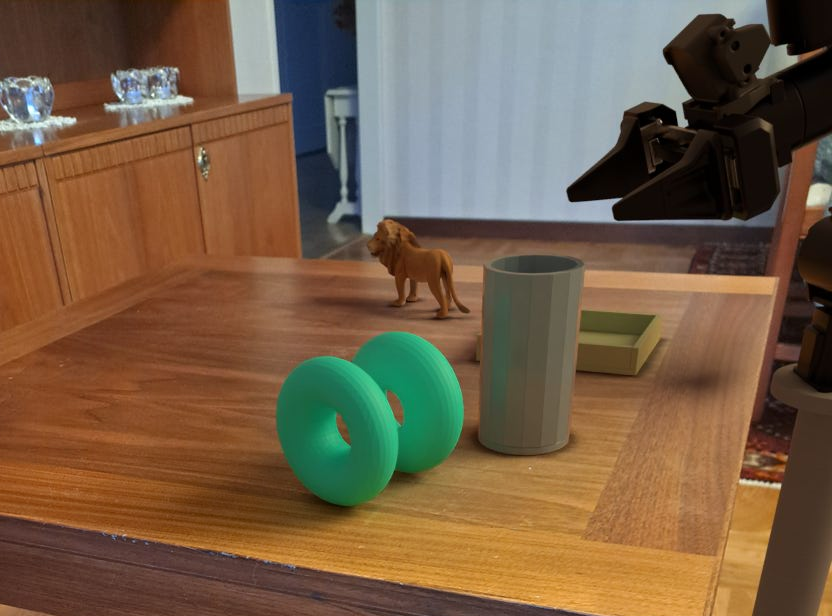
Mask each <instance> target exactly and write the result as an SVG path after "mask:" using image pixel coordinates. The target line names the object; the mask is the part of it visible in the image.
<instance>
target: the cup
mask: <svg viewBox="0 0 832 616" xmlns="http://www.w3.org/2000/svg"><path fill="white" fill-rule="evenodd" d="M482 266H483V268H482V270H483V271H482V294H481V295H482V296H481V297H482V299H481V323H480V324H481V326H480V327H481V328H480V329H481V330H480V332H481V353H480V361H479V382H478V383H479V386H478V387H479V388H478V412H477V415H478V416H477V431H478V435H477V438H478V441H479V443H480V444H481V445H482V446H483V447H485V448H487V449H489V450H491V451H494V452H497V453H502V454H507V455H513V456H515V455H516V456H537V455H543V454H548V453H552V452H553V453H554V452H556V451H559V450H560V449H562V448H564V447H566V445H567V444H568V443H569V441H570V434H571V430H572V429H571V427H572V418H573V408H574V407H573V406H574V397H575V386H576V385H575V382H576V372H577V370H576V363H577V352H578V341H579V330H580V318H581V309H582V308H583V307H582V305H583V296H584V295H583V294H584V283H585V272H586V262H584V261H583V260H582V259H580V258H577V257H574V256H570V255H563V254H556V253H555V254H554V253H516V254H508V255H501V256H498V257H493V258H491V259H488V260H487V261H485V262H484V263H483V265H482Z"/></svg>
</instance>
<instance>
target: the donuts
mask: <svg viewBox="0 0 832 616" xmlns="http://www.w3.org/2000/svg"><path fill="white" fill-rule="evenodd" d="M442 353H443V352H441V351H440V350H439V349H438V348H437V347H436V346H435V345H434V344H432V343H431V342H429V341H428V340H426V339H425V338H423V337H421V336H419V335H416V334H414V333H411V332H407V331H399V330H398V331H397V330H395V331H394V330H393V331H385V332H383V333H380V334H377V335H374V336H373V337H372V338H370V339H369V340H368V341H366V342H365V343H364V344H362V345H361V346H360V348H359V349H358V350H357V352H356V353H355V354H354V356H353V357H352V359H351V361H349V360H346V359H344V358H340V357H336V356H333V355H331V356H330V355H324V356H323V355H322V356H316V357H312V358H309V359H306V360H303V361H302V362H301V363H299V364H298V365H296V366H295V368H293V369H292V370H291V371H290V372H289V373H288V375H287V376H286V378H285V379H284V381H283V382H282V385H281V387H280V389H279V392H278V396H277V400H276V407H275V425H276V433H277V437H278V442H279V445H280V449H281V451H282V454H283V455H284V458H285V461H286V462H287V465H288V466H289V468H290V469H291V471H292V472H293V474H294V475H295V476H296V478H297V479H298V481H300V483H301V484H302V485H303V486H304V487H305V488H306V489H307V490H309V491H310V492H311V493H312V494H314V496H316V497H318V498H319V499H321V500H322V501H325V502H326V503H330V504H332V505H338V506H343V507H352V506H358V505H363V504H365V503H367V502H369V501H371V500H373V499H374V498H376V497H377V496H378V495H380V493H381V492H383V491H384V489H385V488H386V486H387V485H388V484H389V482H390V480H391V479H392V476H393V474H394V472H395V471H396V472H400V473H405V474H419V473H424V472H428V471H429V470H430V471H431V470H432V469H434V468H436V467H438V466H439V465H441V464H442V463H443V462H444V461H446V459H447V458H448V457H449V456H450V455H451V454H452V453H453V451H454V449H455V448H456V446H457V444H458V442H459V439H460V436H461V433H462V430H463V426H464V425H463V424H464V415H465V413H464V412H465V411H464V410H465V409H464V408H465V407H464V399H463V394H462V389H461V386H460V383H459V380H458V377H457V375H456V373H455V371H454V369H453V367H452V365H451V364H450V362H449V361H448V360H447V358H446V357H445V356H444V354H442ZM388 391H390V392H391V393H393V394H394V396H396V398H397V399H398V402H400V405H401V407H402V411H403V413H402V414H403V421H402V424H400V422H398V421H397V419H396V418H395V415H394V412H393V410H392V407H391V405H390V403H389V401H388ZM337 414H338V415H339V417H340V418H341V420H342V421H343V423H344V425H345V428H346V430H347V433H348V436H349V440H350V442H349V443H350V444H349V443H347V442H346V441H345V440H344V438H343V436H342V435H341V433H340V430H339V428H338V425H337Z"/></svg>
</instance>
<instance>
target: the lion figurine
mask: <svg viewBox="0 0 832 616" xmlns="http://www.w3.org/2000/svg"><path fill="white" fill-rule="evenodd" d="M376 228H377V230H376V231H375V232H374V233H373V236H372V237H371V239H370V240H369V241H367V242H366V243H365V246H366V248H367V250H368V251H369V252H370V257H371V258H372V259H378V262H380V264H381V265H382V266H384V267H385V268H386V269H387V273H388V274H389V275H390V276H392V277H394V283H395V288H396V291H397V295H398V298H397V299H394V300H393V301H392V304H393V306H394V307H400V306H405V304H406V301H407V302H416V301H417V300H418V297H419V296H418V295H419V283H422V284H423V283H427V285H428V288H429V290H430V292H431V294H432V295H433V297H434V298H435V299H436V301H437V303H438V305H439V307H440V310H438V311H437V312H436V318H438V319H444V318H447V317H448V316H449V315H448V314H449V310H452V308H453V303H454V304H455V306H456V307H457V309H458V310H459V312H461V313H462V314H470V313H471V309H469V308H468V307H467V306H465V305H463V304H462V303H461V301H460V300H459V298H458V297H457V293H456V289H455V283H454V279H453V273H454V265H453V264H454V263H453V259H452V257H451V255H450V254H449V253H448V252H447V250H444V249H442V248H433V249H427V248H424V247H422V246H421V245H420V243H419V241H418V238H417V236H416V235H415V234H414V232H412V231H410V230H409V228H408V227H406V225H403V224H401V223H399V222H398V221H394V220H392V219H384V220H381V221H379V222H378V223H377V224H376ZM407 279H408V280H409V293H408V296H407V295H406V288H405V286H406V281H407ZM441 283H442V285H441ZM442 286H443V288H444V292H443V289H442ZM444 293H445V294H444ZM406 296H407V297H406Z"/></svg>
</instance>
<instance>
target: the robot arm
mask: <svg viewBox="0 0 832 616" xmlns="http://www.w3.org/2000/svg"><path fill="white" fill-rule="evenodd" d="M765 7H766V16H767V25H768V31H767V28H766V26H765V25H764V24H763V23H748V24H745V25H742V26H739V27H735V28H734V26H735V25H736V24H737V21H736V20H735V18H733V17H731V18H730V17H729V18H728V17H727V16H726V15H724V14H722V13H701V14H697V15H696V16H695V17H694V18H693V19H692V20H691V21H690V22H689V23H687V25H686V26H685V27H684V28H683V29H682V30H681V31H679V33H677V35H675V37H673V38H672V39H671V40H670V42H668V43H667V45H665V46H664V47H663V48H662V56H663V58H664V60H665V63H666V64H667V65H668V66H671V67H672V68H673V69H674V73H676V75H677V77H678V79H679V80H680V82H681V84H682V85H683V87H684V89H685V91H686V93H687V94H688V96H689V97H690V98H689V99H687V100H685V101H683V102H681V107H682V113H683V118H684V120H685V121H687V126H684V127H683V126H679V121H678V115H677V110H675V109H673V108H671V107H670V106H668V105H666V104H664V103H660V102H652V101H643V102H640V103H639V104H637V105H634V106H632V107H629V108H628V109H626V110H624V111H623V113H622V120H621V121H620V125H619V130H620V132H619V134H618V138H617V141H616V143H615V144H614V146H613V147H612V148H611V149H610V150H609V151H608V152H607V153H606V154H605V155H603V157H601V158H600V159H599V160H598V161H597V162H595V163H594V164H593V165H592V166H590V168H588V169H587V170H586V171H584V173H582V174H581V176H579V177H578V178H577V179H575V180H574V181H573V182H572V183H571V184H570V185H569V186H567V188H566V190H565V193H566V196H567V201H568V202H569V203H583V202H586V203H587V202H596V201H606V200H616V199H619V200H617V201H616V202H615V203H614V204H613V205H612V206H611V212H612V218H613V220H614V221H616V222H640V221H641V222H644V221H645V222H647V221H724V222H726V221H727V222H728V221H730V220H732V219H733V218H734V219H737V220H740V221H743V222H747V221H749V220H751V219H754V218H756V217H757V216H760V215H762V214H764V213H766V212H768V211H770V210H771V209H772V207H773V205H774V204H775V202H776V200H777V198H778V196H779V195H780V193H781V190H782V189H781V183H780V173H779V172H780V171H779V169H781V168H783V167H785V166H788V165H789V164H792V163H793V153H794V152H797V151H800V150H801V149H803V148H806V147H808V146H810V145H812V144H814V143H816V142H818V141H821V140H823V139H825V138H827V137H829V136H832V0H765ZM771 45H772V46H774V47H775V48H777V47H781V46H785V45H786V47H785V48H786V55H787V56H789V57H795V56H801V55H805V54H809V53H812V52H815V51H818V50H821V49H823V48H825V49H823V50H821V51H819V52H817V53H814V54H812V55H810V56H808V57H806V58H804V59H801V60H800V61H797V62H795V63H793V64H791V65H788V66H786V67H785V68H783V69H780V70H778V71H776V72H774V73H772V74H769V75H767V76H765V77H762V78H759V77H757V75H756V73H757V72H759V70H760V69H761V68H760V66H761V64H762V62H763V60H764V58H765V56H766V54H767V52H768V50H769V48H770V47H771ZM827 211H828V213H829V214H830V215H827V216H825V217H823V218H821V219H820V220H818V221H816V222H814V223H813V225H811V226H810V227H809V228H808V229H807V234H806V236H805V237H804V239H803V240H802V242H801V245H800V248H799V251H798V254H797V268H798V272H799V275H800V276H801V278H802V279H803V281H804V286H805V295H806V300H807V301H808V302H810V303H816V304H818V305H820V306H818V305H817V306H815V307H814V311H813V317H812V320H811V324H808V325H806V326H805V328H804V331H803V335H802V336H803V337H802V340H801V341H802V342H801V346H800V350H799V354H798V360H797V363H798V364H797V366H794V367H793V372H794V373H795V374H796V375H798V376H799V377H800V378H802V379H803V380H804V381H805V382H807V383H808V384H809V385H810V386H812V387H813V388H814V389H816V390H817V391H818V392H821V393H832V206H829V207H828V209H827Z"/></svg>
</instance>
